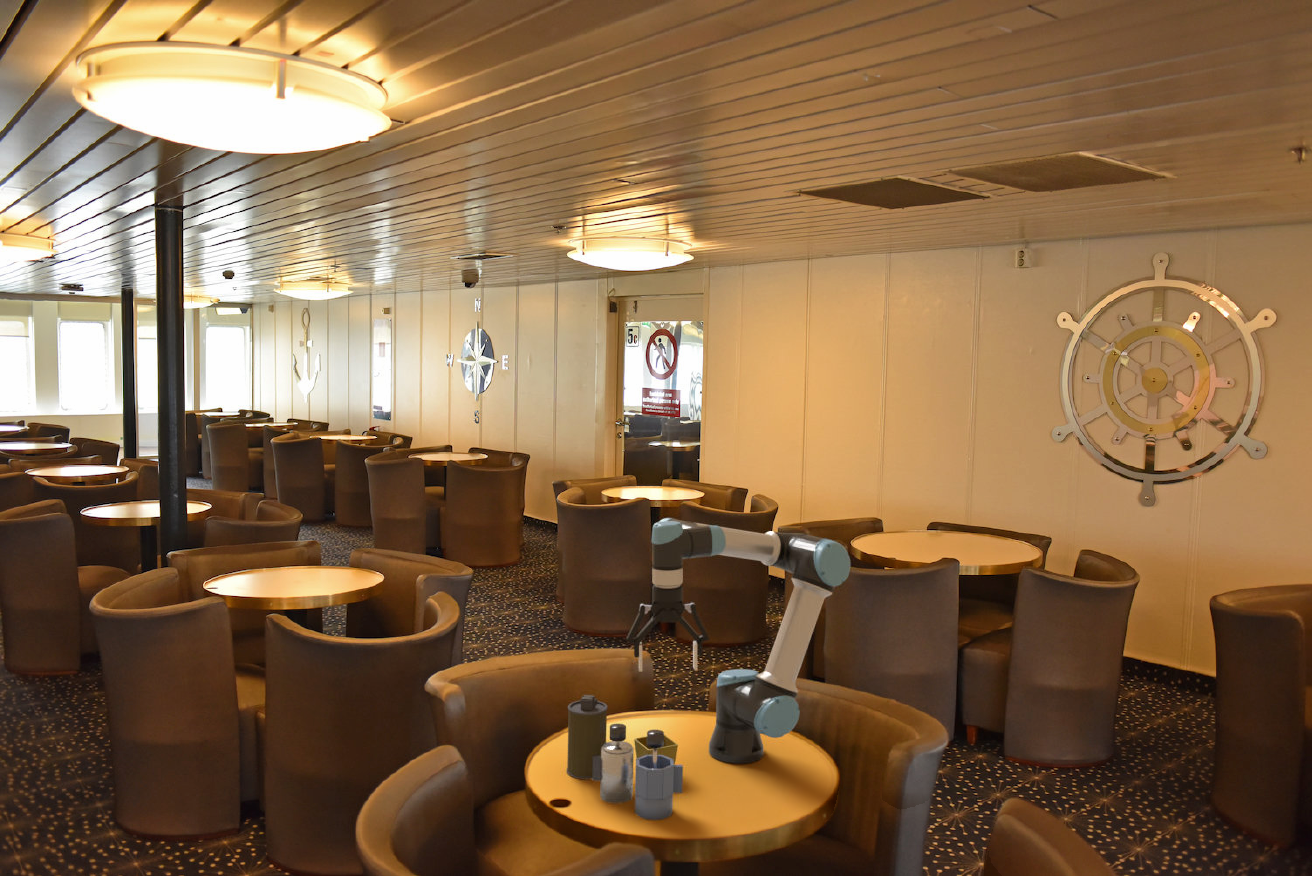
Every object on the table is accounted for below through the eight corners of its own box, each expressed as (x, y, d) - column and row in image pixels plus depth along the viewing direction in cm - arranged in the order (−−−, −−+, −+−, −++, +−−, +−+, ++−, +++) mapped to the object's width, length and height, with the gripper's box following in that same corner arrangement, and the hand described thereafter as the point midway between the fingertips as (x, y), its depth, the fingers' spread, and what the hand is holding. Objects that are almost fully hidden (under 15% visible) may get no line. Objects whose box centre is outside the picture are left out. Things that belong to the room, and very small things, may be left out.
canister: (600, 781, 241) (602, 705, 240) (561, 777, 244) (562, 701, 242) (610, 764, 252) (612, 691, 251) (573, 760, 254) (574, 688, 253)
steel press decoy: (632, 789, 237) (634, 720, 236) (632, 803, 229) (634, 732, 228) (592, 788, 237) (594, 720, 236) (591, 803, 229) (593, 732, 228)
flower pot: (647, 784, 241) (648, 749, 240) (632, 771, 248) (633, 738, 248) (677, 778, 245) (678, 744, 244) (662, 765, 252) (663, 733, 252)
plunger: (667, 783, 229) (668, 727, 228) (668, 795, 222) (669, 738, 221) (640, 783, 228) (641, 727, 227) (640, 795, 222) (641, 737, 221)
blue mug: (680, 803, 230) (681, 755, 229) (682, 820, 221) (683, 770, 220) (634, 802, 230) (635, 754, 229) (634, 819, 221) (636, 769, 220)
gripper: (715, 580, 236) (715, 662, 238) (616, 582, 234) (617, 665, 236) (719, 587, 229) (719, 672, 230) (617, 589, 227) (618, 675, 229)
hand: (667, 669), depth 233 cm, fingers open, 13 cm apart
